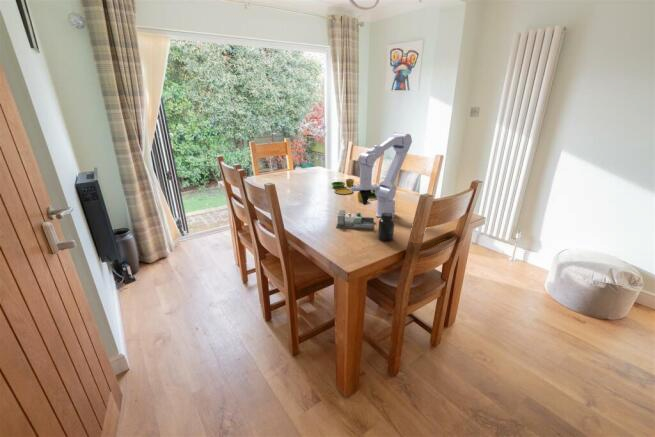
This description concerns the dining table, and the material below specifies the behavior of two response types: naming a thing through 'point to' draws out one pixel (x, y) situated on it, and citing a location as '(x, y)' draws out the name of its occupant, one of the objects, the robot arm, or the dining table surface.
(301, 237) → the dining table surface
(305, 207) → the dining table surface
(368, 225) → the press
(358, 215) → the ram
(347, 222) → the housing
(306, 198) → the dining table surface
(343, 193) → the tableware set
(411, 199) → the dining table surface
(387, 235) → the supplement bottle
